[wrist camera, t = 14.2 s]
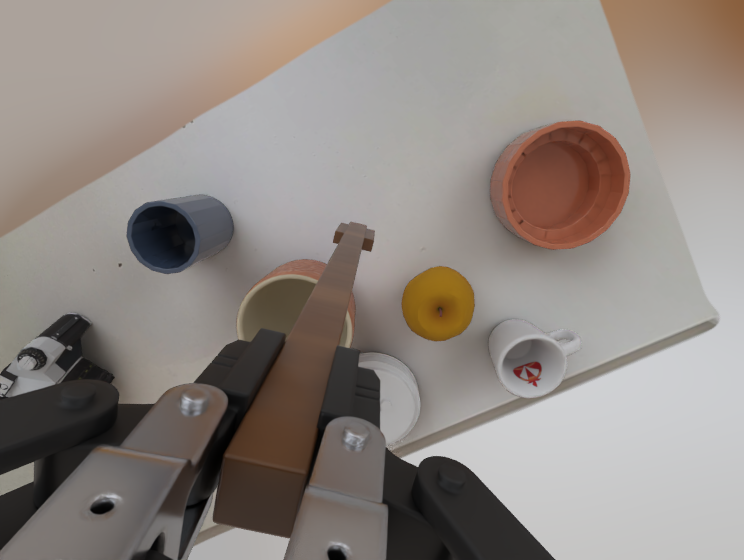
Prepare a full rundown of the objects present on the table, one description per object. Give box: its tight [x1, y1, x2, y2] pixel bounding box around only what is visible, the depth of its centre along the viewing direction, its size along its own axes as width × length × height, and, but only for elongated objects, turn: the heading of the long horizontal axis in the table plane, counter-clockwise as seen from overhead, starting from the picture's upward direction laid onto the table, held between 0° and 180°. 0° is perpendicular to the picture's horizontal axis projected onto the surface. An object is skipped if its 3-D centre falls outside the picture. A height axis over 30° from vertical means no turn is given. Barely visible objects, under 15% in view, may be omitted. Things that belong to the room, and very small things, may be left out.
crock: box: [127, 195, 233, 274], centre depth 47 cm, size 7×7×10 cm
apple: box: [402, 266, 475, 341], centre depth 49 cm, size 9×8×9 cm
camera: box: [0, 313, 115, 400], centre depth 53 cm, size 15×11×10 cm
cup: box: [488, 319, 582, 398], centre depth 51 cm, size 11×8×8 cm
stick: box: [213, 222, 375, 538], centre depth 23 cm, size 2×3×32 cm, turn 77°
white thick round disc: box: [358, 352, 420, 446], centre depth 55 cm, size 13×13×5 cm
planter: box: [236, 259, 355, 348], centre depth 49 cm, size 12×12×11 cm
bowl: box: [490, 121, 630, 250], centre depth 47 cm, size 13×13×6 cm
